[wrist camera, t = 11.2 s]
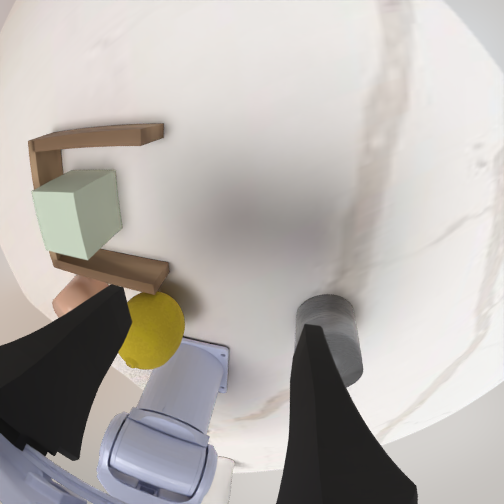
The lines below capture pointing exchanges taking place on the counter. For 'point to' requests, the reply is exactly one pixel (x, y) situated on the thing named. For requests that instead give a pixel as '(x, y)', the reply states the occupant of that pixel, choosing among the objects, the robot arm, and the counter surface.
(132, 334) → the lemon
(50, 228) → the block
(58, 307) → the peach rounded cylinder
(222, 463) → the drinking glass
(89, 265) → the corral
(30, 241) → the counter surface
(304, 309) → the can
